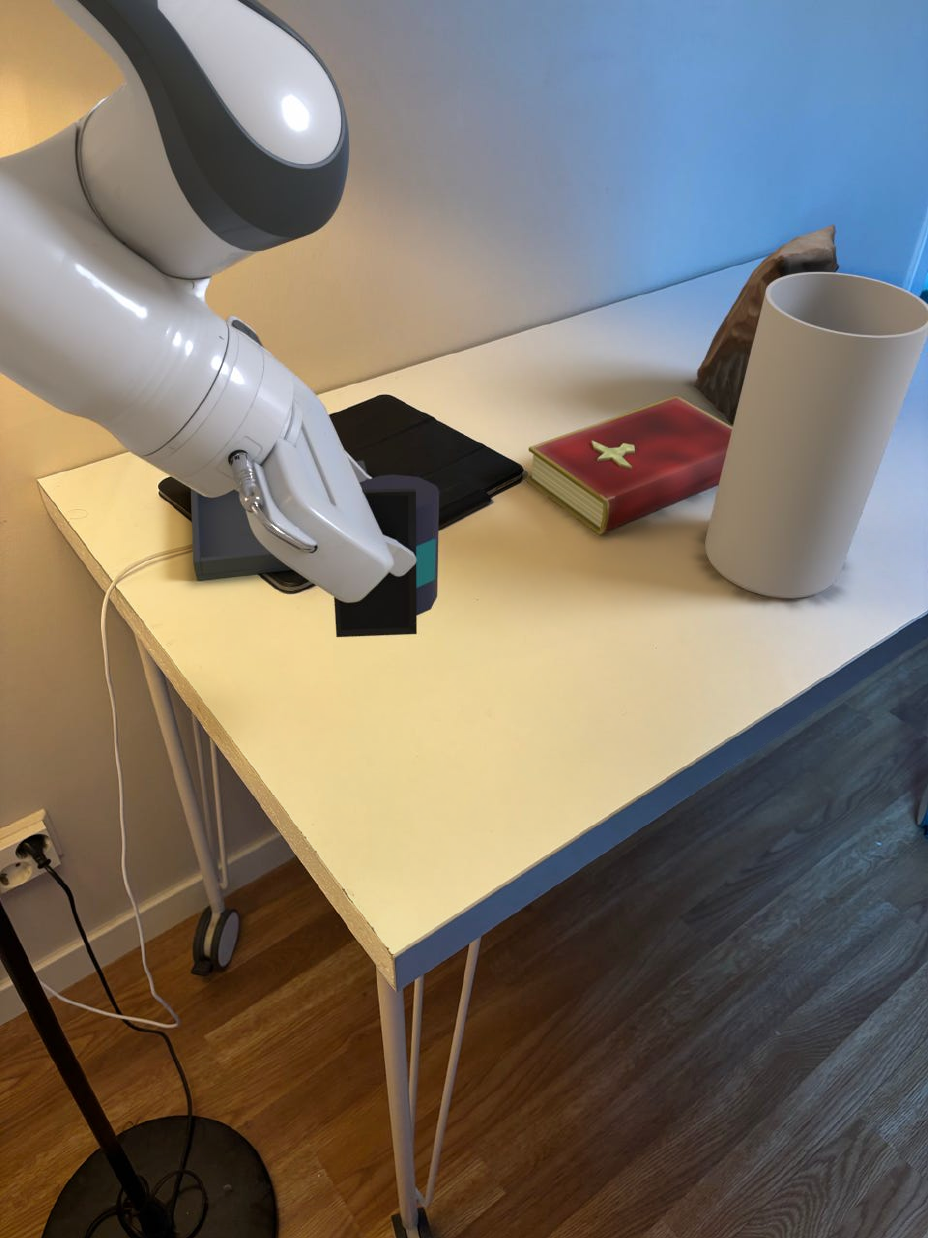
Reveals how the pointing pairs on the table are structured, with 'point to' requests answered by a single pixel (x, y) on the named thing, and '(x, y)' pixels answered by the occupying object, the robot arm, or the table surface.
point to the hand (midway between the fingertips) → (391, 530)
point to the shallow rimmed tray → (228, 539)
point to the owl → (757, 316)
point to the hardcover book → (632, 463)
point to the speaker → (395, 599)
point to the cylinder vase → (812, 428)
